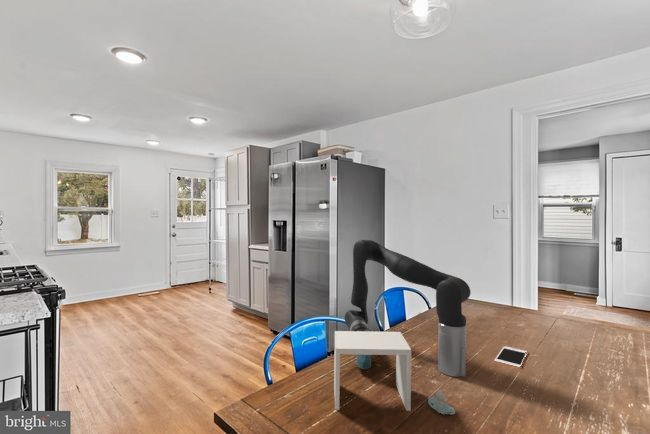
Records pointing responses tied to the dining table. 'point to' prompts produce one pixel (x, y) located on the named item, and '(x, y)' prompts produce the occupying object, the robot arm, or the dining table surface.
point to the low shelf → (375, 346)
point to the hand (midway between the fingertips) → (364, 350)
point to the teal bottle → (364, 357)
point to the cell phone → (511, 356)
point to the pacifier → (440, 404)
